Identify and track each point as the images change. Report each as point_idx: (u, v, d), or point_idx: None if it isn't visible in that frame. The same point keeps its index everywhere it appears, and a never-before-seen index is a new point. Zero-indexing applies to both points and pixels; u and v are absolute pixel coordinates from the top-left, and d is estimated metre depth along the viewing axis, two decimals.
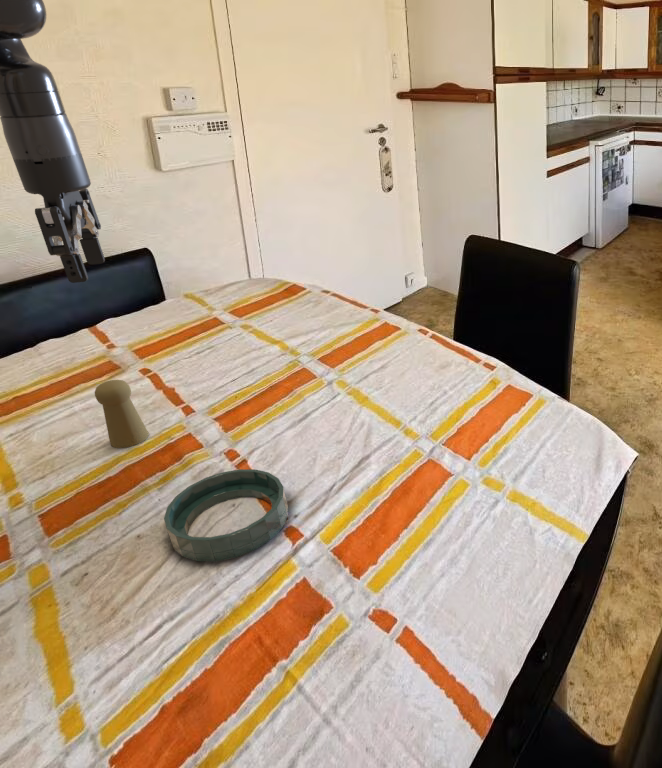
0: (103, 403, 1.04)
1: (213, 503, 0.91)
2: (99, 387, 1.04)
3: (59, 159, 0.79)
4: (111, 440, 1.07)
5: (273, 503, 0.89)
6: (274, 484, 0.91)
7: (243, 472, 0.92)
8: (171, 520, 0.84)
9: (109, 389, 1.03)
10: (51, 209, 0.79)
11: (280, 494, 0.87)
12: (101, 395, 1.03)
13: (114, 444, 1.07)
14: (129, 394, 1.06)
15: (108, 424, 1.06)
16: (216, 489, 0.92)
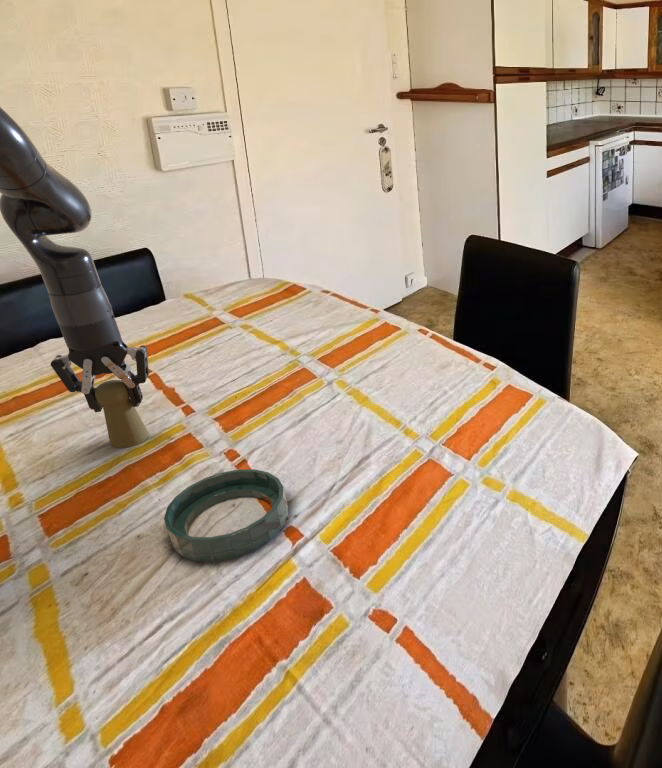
0: (103, 403, 1.04)
1: (213, 503, 0.91)
2: (99, 387, 1.04)
3: None
4: (111, 440, 1.07)
5: (273, 503, 0.89)
6: (274, 484, 0.91)
7: (243, 472, 0.92)
8: (171, 520, 0.84)
9: (109, 389, 1.03)
10: (145, 347, 1.04)
11: (280, 494, 0.87)
12: (101, 395, 1.03)
13: (114, 444, 1.07)
14: None
15: (108, 424, 1.06)
16: (216, 489, 0.92)
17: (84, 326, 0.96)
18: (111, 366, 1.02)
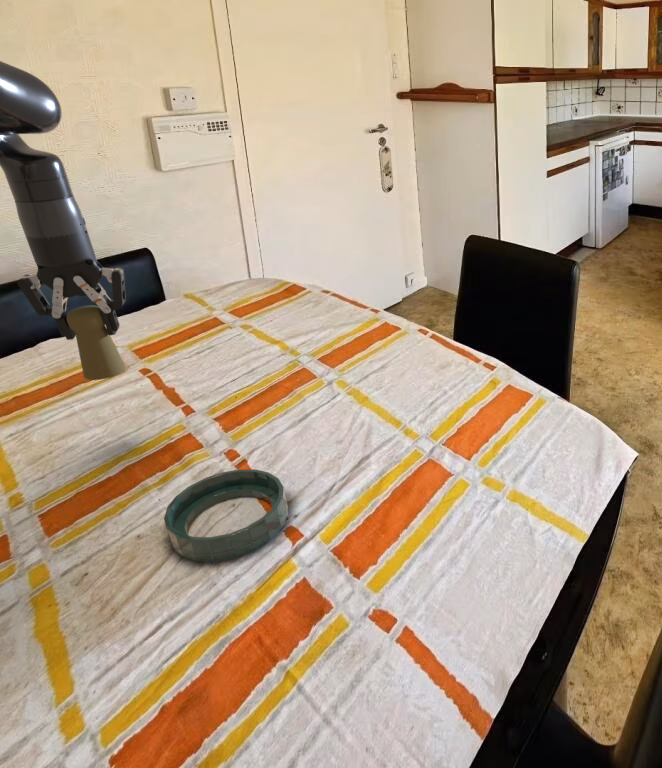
0: (76, 329, 0.96)
1: (213, 503, 0.91)
2: (71, 311, 0.96)
3: None
4: (85, 371, 0.99)
5: (273, 503, 0.89)
6: (274, 484, 0.91)
7: (243, 472, 0.92)
8: (171, 520, 0.84)
9: (82, 313, 0.95)
10: (121, 269, 0.96)
11: (280, 494, 0.87)
12: (73, 320, 0.95)
13: (88, 376, 0.99)
14: None
15: (81, 353, 0.98)
16: (216, 489, 0.92)
17: (54, 238, 0.88)
18: (84, 287, 0.94)
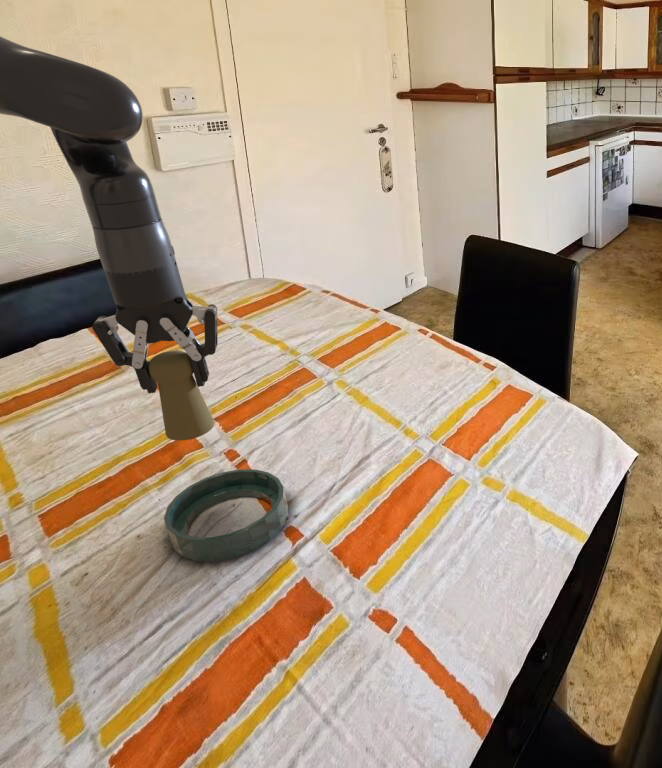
0: (160, 381, 0.78)
1: (213, 503, 0.91)
2: (155, 359, 0.78)
3: None
4: (168, 430, 0.81)
5: (273, 503, 0.89)
6: (274, 484, 0.91)
7: (243, 472, 0.92)
8: (171, 520, 0.84)
9: (168, 361, 0.78)
10: (215, 307, 0.79)
11: (280, 494, 0.87)
12: (157, 370, 0.77)
13: (172, 435, 0.81)
14: None
15: (165, 409, 0.80)
16: (216, 489, 0.92)
17: (140, 273, 0.70)
18: (172, 331, 0.76)
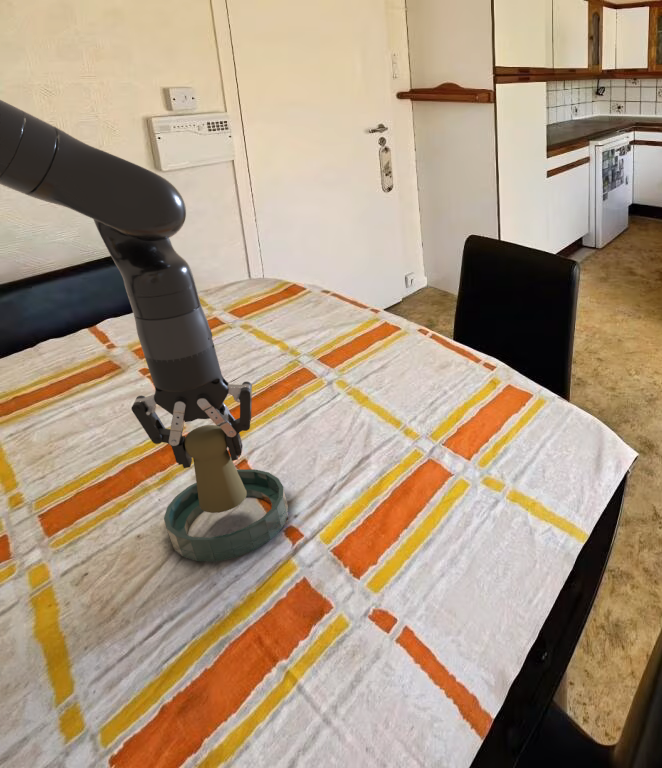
0: (196, 457, 0.79)
1: None
2: (191, 436, 0.79)
3: None
4: (202, 503, 0.83)
5: (273, 503, 0.89)
6: (274, 484, 0.91)
7: (243, 472, 0.92)
8: (171, 520, 0.84)
9: (204, 439, 0.79)
10: (250, 385, 0.80)
11: (280, 494, 0.87)
12: (193, 447, 0.79)
13: (206, 508, 0.83)
14: None
15: (200, 483, 0.82)
16: None
17: (180, 360, 0.72)
18: (208, 410, 0.77)
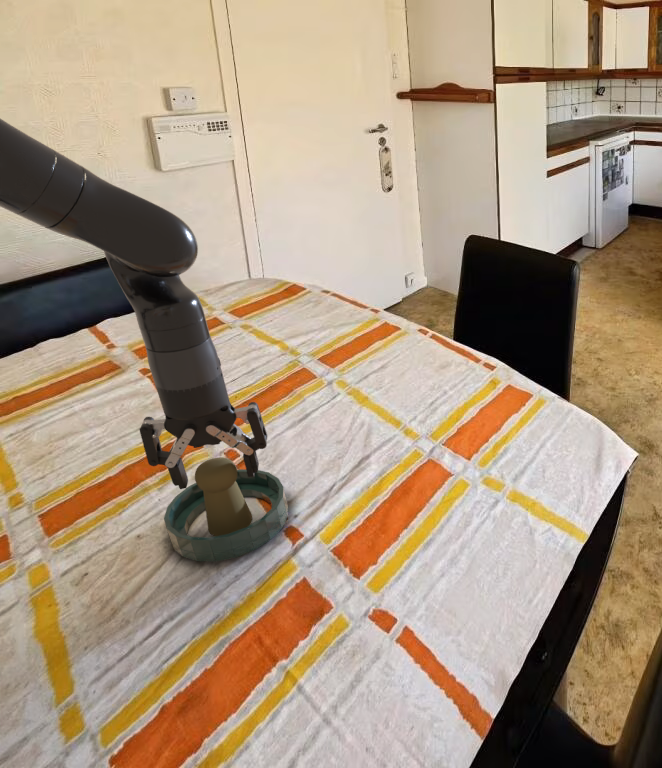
0: (206, 490, 0.82)
1: None
2: (201, 469, 0.82)
3: None
4: (212, 533, 0.85)
5: (273, 503, 0.89)
6: (274, 484, 0.91)
7: (243, 472, 0.92)
8: (171, 520, 0.84)
9: (214, 472, 0.81)
10: (255, 404, 0.82)
11: (280, 494, 0.87)
12: (204, 481, 0.81)
13: None
14: (236, 476, 0.84)
15: (209, 514, 0.84)
16: None
17: (190, 390, 0.74)
18: (219, 435, 0.80)
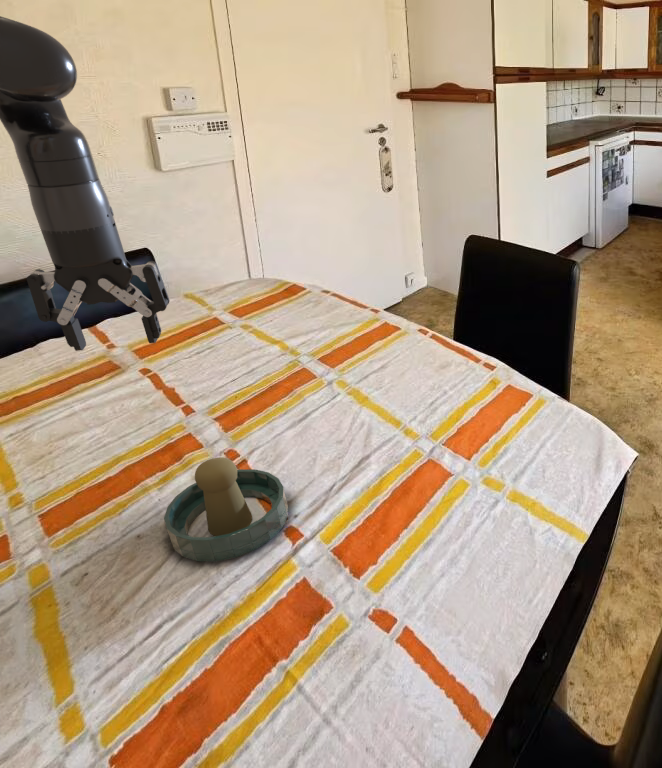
0: (206, 490, 0.82)
1: None
2: (201, 469, 0.82)
3: None
4: (212, 533, 0.85)
5: (273, 503, 0.89)
6: (274, 484, 0.91)
7: (243, 472, 0.92)
8: (171, 520, 0.84)
9: (214, 472, 0.81)
10: (153, 263, 0.79)
11: (280, 494, 0.87)
12: (204, 481, 0.81)
13: None
14: (236, 476, 0.84)
15: (209, 514, 0.84)
16: None
17: (75, 232, 0.71)
18: (113, 291, 0.77)
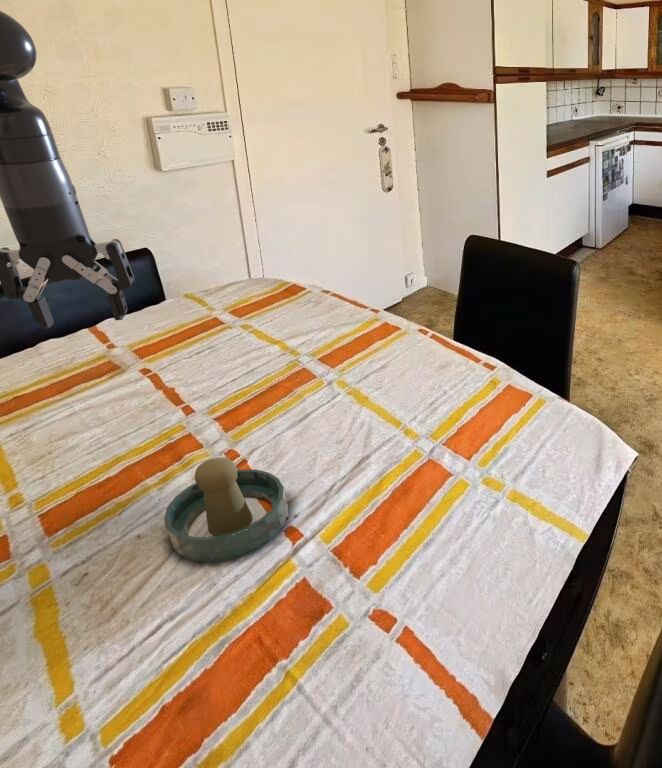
0: (206, 490, 0.82)
1: None
2: (201, 469, 0.82)
3: None
4: (212, 533, 0.85)
5: (273, 503, 0.89)
6: (274, 484, 0.91)
7: (243, 472, 0.92)
8: (171, 520, 0.84)
9: (214, 472, 0.81)
10: (117, 241, 0.81)
11: (280, 494, 0.87)
12: (204, 481, 0.81)
13: None
14: (236, 476, 0.84)
15: (209, 514, 0.84)
16: None
17: (37, 209, 0.73)
18: (78, 268, 0.79)
